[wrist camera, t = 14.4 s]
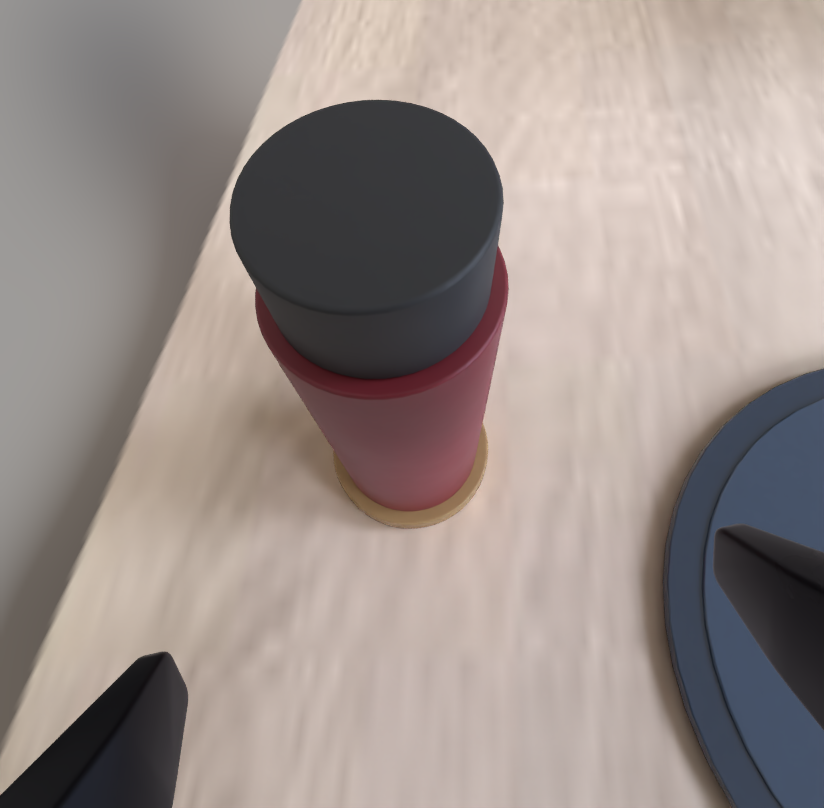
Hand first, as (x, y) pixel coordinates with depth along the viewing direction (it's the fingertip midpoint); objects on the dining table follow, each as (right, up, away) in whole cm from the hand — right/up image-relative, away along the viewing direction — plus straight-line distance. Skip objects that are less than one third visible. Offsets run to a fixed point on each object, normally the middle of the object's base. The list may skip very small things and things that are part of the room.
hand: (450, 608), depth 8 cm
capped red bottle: (-1, +2, +10) cm, 10 cm away
